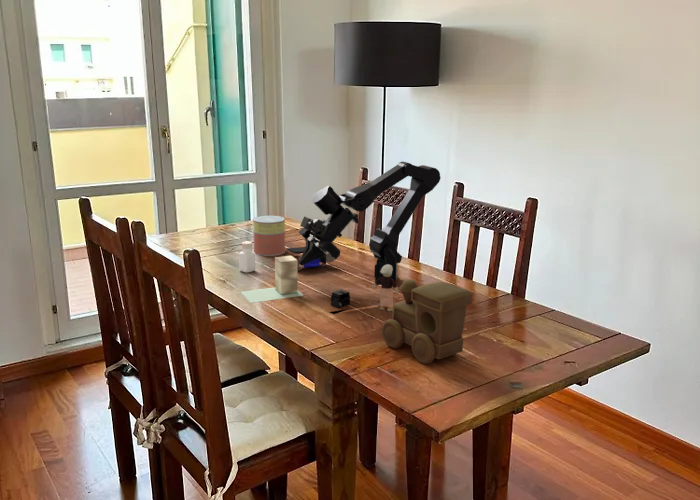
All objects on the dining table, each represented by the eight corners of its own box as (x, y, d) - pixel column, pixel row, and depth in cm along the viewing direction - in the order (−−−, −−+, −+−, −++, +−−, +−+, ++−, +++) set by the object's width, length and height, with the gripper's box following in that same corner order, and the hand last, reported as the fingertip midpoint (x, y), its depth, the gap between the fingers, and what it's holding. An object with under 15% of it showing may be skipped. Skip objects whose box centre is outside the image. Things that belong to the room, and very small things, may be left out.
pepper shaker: (247, 273, 209) (246, 244, 206) (238, 271, 211) (237, 242, 208) (256, 270, 212) (255, 242, 209) (247, 268, 214) (247, 240, 211)
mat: (291, 286, 197) (291, 285, 197) (304, 296, 188) (304, 295, 188) (239, 293, 190) (239, 291, 190) (250, 304, 181) (250, 302, 181)
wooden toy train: (470, 359, 150) (475, 291, 145) (435, 372, 143) (439, 301, 138) (411, 332, 165) (414, 269, 160) (376, 342, 158) (378, 277, 154)
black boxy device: (332, 318, 174) (332, 300, 173) (313, 310, 180) (313, 293, 178) (366, 306, 183) (366, 290, 182) (346, 299, 189) (347, 283, 187)
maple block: (291, 287, 194) (291, 255, 192) (297, 293, 190) (297, 260, 187) (275, 290, 192) (274, 257, 189) (281, 295, 188) (281, 261, 185)
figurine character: (324, 266, 223) (284, 268, 214) (326, 244, 221) (286, 245, 213) (334, 272, 217) (293, 273, 209) (336, 249, 215) (296, 250, 207)
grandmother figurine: (400, 308, 181) (402, 264, 178) (397, 312, 178) (399, 268, 174) (374, 304, 183) (375, 261, 180) (370, 308, 180) (371, 264, 177)
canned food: (291, 250, 236) (291, 218, 233) (271, 257, 227) (271, 224, 223) (267, 245, 242) (266, 214, 238) (246, 252, 232) (246, 219, 229)
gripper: (305, 201, 197) (270, 239, 195) (331, 213, 181) (293, 255, 179) (328, 224, 202) (295, 262, 200) (355, 238, 186) (319, 279, 184)
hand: (300, 264), depth 191 cm, fingers closed
